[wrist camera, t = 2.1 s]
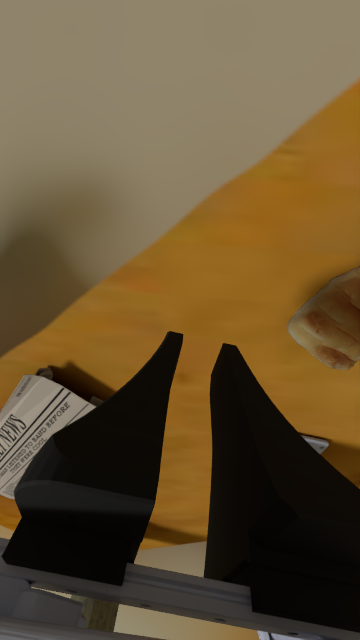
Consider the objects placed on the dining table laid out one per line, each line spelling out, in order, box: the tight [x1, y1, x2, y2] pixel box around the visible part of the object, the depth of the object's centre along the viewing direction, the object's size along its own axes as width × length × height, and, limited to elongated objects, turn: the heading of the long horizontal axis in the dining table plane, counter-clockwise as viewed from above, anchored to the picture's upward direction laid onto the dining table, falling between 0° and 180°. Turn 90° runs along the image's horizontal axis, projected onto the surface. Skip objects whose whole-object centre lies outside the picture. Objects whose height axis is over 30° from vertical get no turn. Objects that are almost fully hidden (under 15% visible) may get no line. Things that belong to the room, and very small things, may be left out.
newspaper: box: [0, 368, 104, 499], centre depth 34 cm, size 35×12×4 cm, turn 143°
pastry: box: [287, 266, 360, 370], centre depth 18 cm, size 9×7×4 cm
